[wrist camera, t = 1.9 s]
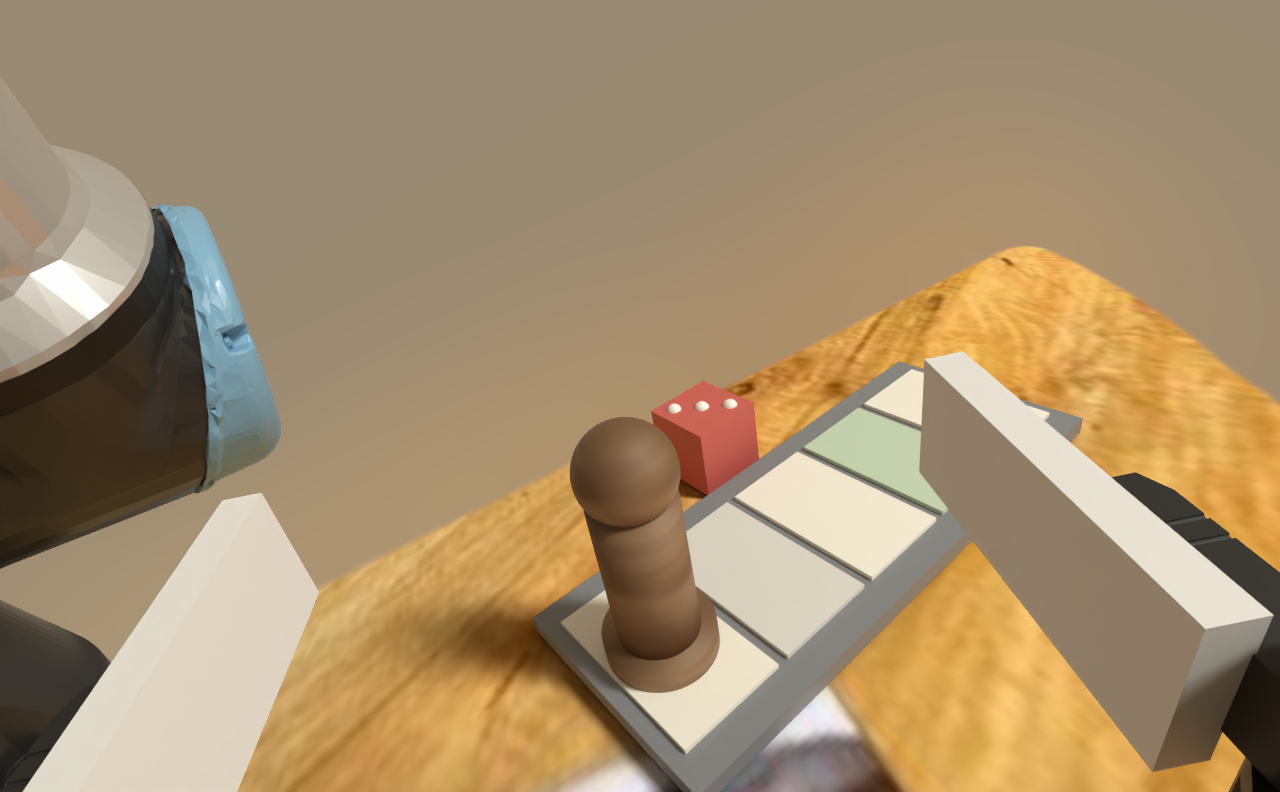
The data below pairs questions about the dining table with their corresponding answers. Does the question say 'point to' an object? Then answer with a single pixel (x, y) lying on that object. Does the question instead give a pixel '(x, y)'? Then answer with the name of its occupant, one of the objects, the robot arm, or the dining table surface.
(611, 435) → the pawn
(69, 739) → the robot arm
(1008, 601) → the dining table surface
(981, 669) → the dining table surface
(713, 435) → the red die
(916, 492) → the game board
